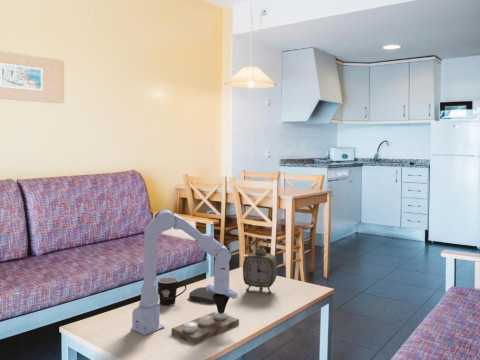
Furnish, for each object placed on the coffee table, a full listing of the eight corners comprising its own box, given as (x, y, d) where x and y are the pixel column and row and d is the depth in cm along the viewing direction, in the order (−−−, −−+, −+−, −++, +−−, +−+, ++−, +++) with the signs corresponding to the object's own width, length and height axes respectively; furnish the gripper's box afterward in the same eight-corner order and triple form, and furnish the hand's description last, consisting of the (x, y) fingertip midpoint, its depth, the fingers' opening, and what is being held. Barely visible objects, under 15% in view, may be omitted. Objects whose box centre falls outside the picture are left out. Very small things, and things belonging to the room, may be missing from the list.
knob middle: (206, 332, 161) (206, 322, 161) (196, 328, 164) (197, 318, 164) (215, 328, 165) (215, 318, 164) (206, 324, 168) (206, 314, 167)
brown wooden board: (194, 344, 152) (194, 338, 152) (171, 333, 159) (171, 328, 159) (238, 324, 169) (238, 319, 169) (215, 316, 177) (216, 311, 177)
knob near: (189, 339, 155) (190, 328, 155) (180, 335, 158) (180, 324, 158) (199, 335, 158) (199, 324, 158) (190, 331, 162) (190, 321, 161)
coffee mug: (153, 304, 189) (153, 281, 188) (165, 298, 197) (165, 276, 196) (175, 309, 184) (175, 285, 183) (187, 302, 191) (187, 280, 191)
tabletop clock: (242, 292, 206) (243, 239, 204) (247, 287, 214) (248, 235, 213) (273, 296, 202) (274, 241, 200) (277, 290, 210) (278, 238, 208)
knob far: (221, 325, 167) (221, 315, 167) (212, 322, 170) (212, 312, 170) (229, 322, 171) (230, 312, 170) (220, 318, 174) (220, 309, 173)
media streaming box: (214, 305, 189) (214, 298, 189) (185, 300, 196) (185, 293, 196) (230, 295, 203) (230, 289, 202) (202, 290, 209) (202, 284, 209)
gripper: (243, 279, 167) (242, 314, 168) (215, 272, 177) (214, 305, 178) (230, 283, 162) (230, 320, 163) (202, 275, 171) (202, 310, 172)
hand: (221, 312), depth 170 cm, fingers closed, pressing on knob far
